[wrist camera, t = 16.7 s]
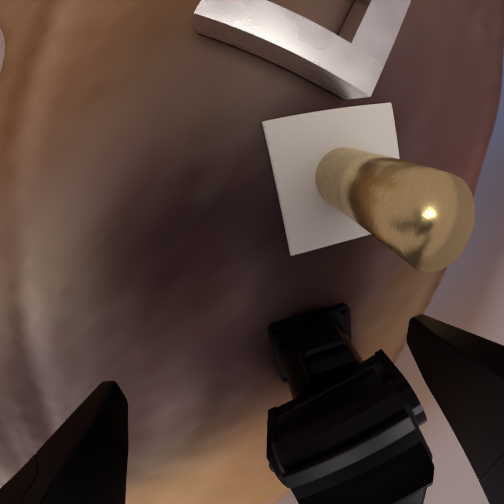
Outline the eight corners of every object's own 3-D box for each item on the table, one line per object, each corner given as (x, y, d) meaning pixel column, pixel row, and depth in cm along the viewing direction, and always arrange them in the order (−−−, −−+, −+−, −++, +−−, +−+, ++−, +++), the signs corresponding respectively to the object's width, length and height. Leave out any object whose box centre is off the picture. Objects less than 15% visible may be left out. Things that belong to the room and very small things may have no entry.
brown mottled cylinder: (373, 199, 20) (472, 257, 11) (321, 212, 20) (401, 284, 11) (366, 142, 19) (474, 166, 10) (310, 153, 19) (397, 183, 9)
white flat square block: (401, 223, 22) (404, 224, 21) (289, 253, 22) (291, 255, 21) (388, 102, 18) (391, 102, 18) (261, 121, 18) (262, 121, 18)
